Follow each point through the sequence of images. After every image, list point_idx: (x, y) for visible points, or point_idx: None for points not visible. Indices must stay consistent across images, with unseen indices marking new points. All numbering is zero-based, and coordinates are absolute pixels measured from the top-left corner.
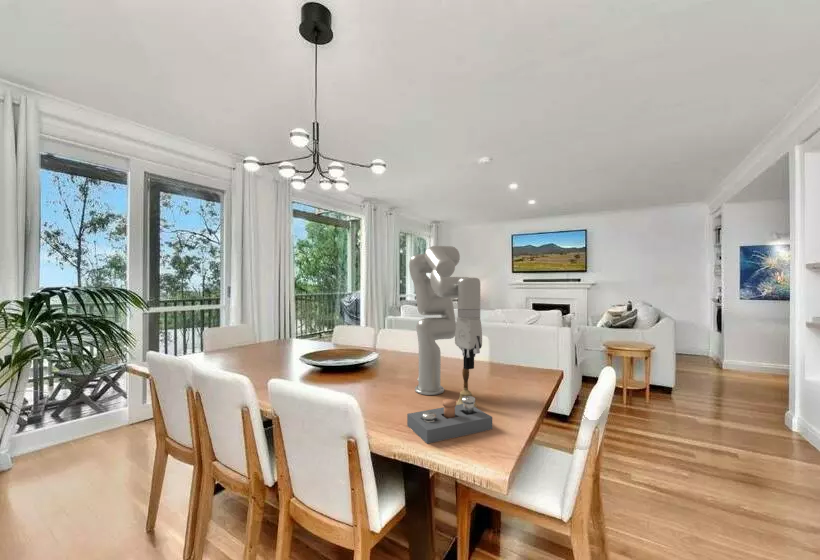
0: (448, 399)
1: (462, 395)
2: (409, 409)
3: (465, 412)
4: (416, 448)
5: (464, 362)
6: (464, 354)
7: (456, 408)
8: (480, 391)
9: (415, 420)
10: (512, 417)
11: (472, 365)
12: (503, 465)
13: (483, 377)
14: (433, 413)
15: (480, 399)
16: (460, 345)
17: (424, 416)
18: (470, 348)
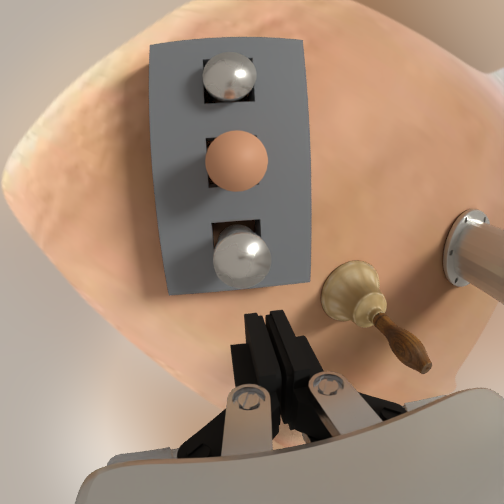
0: (260, 168)
1: (364, 292)
2: (397, 121)
3: (228, 227)
4: (147, 30)
5: (280, 338)
6: (312, 392)
7: (282, 219)
8: (400, 363)
9: (237, 37)
10: (228, 363)
11: (233, 370)
12: (18, 199)
13: (441, 389)
14: (231, 91)
15: (365, 346)
16: (377, 445)
17: (221, 54)
18: (92, 473)
